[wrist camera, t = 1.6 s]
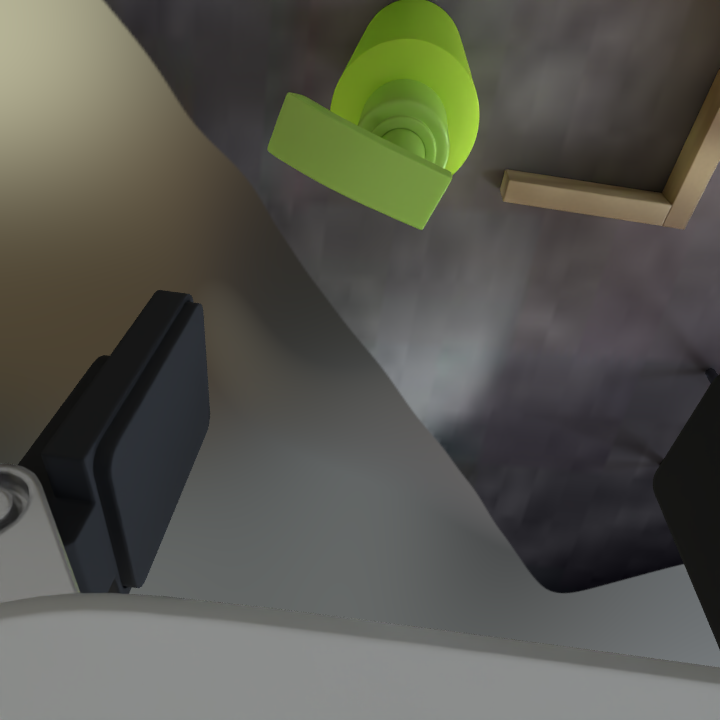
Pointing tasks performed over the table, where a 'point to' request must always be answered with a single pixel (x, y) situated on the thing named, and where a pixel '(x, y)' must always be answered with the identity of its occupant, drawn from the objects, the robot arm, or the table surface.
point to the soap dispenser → (389, 116)
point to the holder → (670, 208)
